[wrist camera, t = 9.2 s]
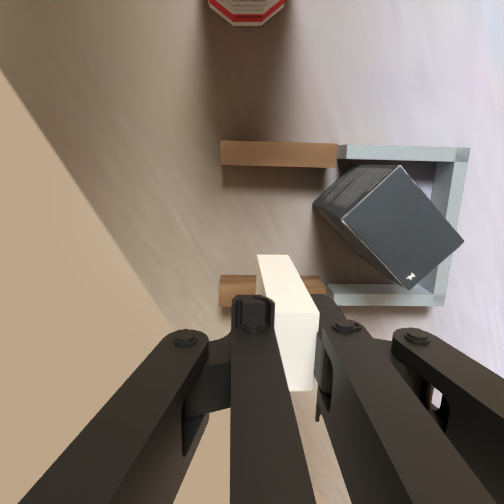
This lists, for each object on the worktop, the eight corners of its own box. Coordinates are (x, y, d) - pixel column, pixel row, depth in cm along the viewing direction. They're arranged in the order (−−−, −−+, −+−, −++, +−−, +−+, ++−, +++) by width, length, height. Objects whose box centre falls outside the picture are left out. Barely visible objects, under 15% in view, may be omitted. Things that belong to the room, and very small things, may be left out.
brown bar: (221, 142, 34) (220, 140, 30) (327, 145, 34) (337, 143, 31) (220, 293, 38) (219, 306, 34) (316, 294, 38) (324, 307, 35)
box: (402, 219, 37) (468, 242, 26) (360, 257, 37) (407, 294, 27) (353, 161, 35) (401, 162, 25) (309, 203, 36) (339, 220, 25)
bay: (338, 145, 34) (347, 144, 32) (450, 149, 35) (470, 148, 32) (325, 294, 38) (333, 305, 35) (428, 295, 39) (443, 306, 36)
